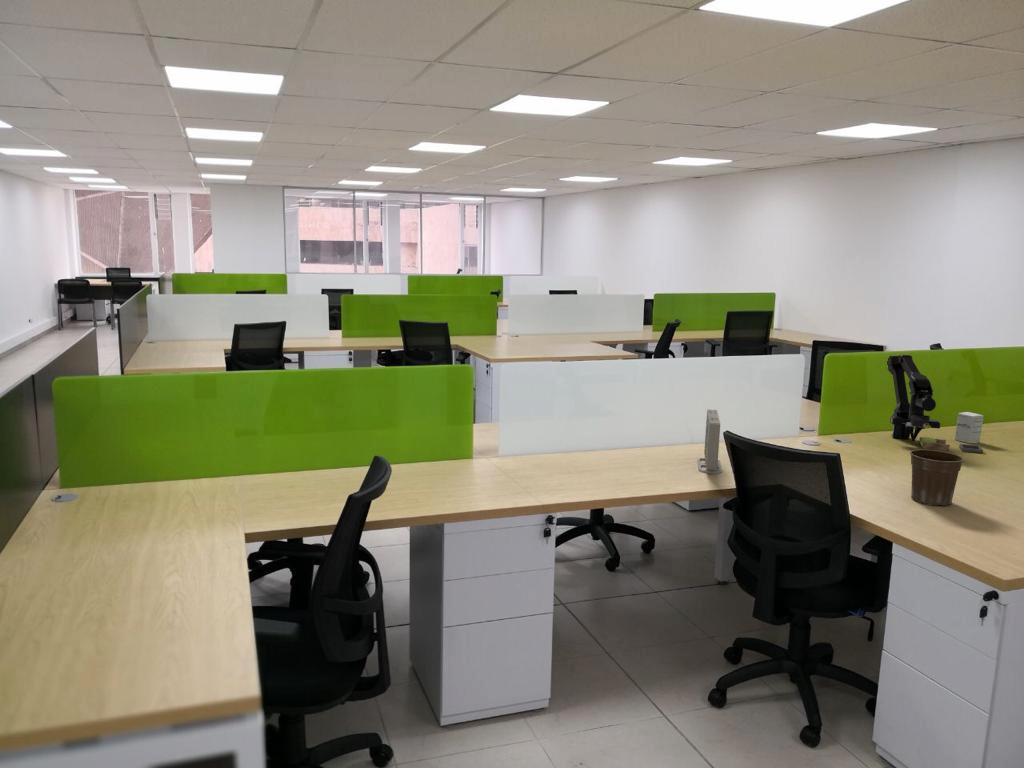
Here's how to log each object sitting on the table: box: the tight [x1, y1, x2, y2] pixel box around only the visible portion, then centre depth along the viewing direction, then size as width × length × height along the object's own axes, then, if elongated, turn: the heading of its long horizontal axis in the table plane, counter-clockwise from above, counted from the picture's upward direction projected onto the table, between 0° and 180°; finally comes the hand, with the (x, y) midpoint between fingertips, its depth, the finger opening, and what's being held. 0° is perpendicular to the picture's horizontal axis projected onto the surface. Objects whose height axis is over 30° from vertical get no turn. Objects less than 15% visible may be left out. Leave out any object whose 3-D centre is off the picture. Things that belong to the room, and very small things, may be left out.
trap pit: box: [958, 443, 984, 454], centre depth 334 cm, size 8×8×2 cm
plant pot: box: [909, 448, 965, 507], centre depth 264 cm, size 16×16×16 cm
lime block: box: [919, 436, 936, 447], centre depth 340 cm, size 5×5×4 cm
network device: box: [696, 409, 723, 474], centre depth 300 cm, size 26×9×20 cm, turn 168°
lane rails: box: [918, 436, 951, 452], centre depth 339 cm, size 10×11×2 cm
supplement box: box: [954, 411, 984, 445], centre depth 349 cm, size 7×7×13 cm
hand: (913, 441), depth 342 cm, fingers closed
